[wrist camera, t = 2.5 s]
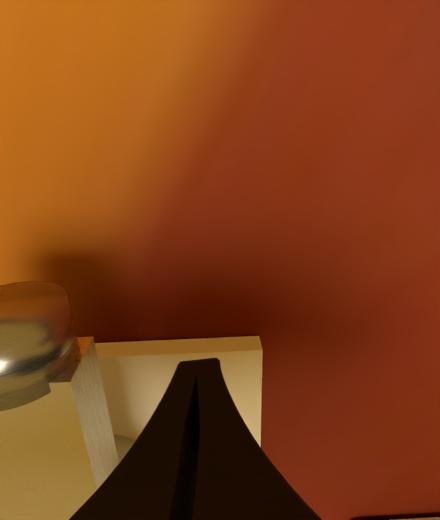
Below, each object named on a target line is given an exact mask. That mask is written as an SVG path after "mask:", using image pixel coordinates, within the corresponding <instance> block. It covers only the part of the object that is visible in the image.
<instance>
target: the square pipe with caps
mask: <svg viewBox="0 0 440 520" xmlns="http://www.w3.org/2000/svg"><path fill="white" fill-rule="evenodd" d="M118 464H119V461H118V456H117V451H116V446H115V441H114V436H113V431H112V426H111V421H110V416H109V411H108V406H107V401H106V397H105V392H104V387H103V382H102V377H101V372H100V367H99V362H98V357H97V352H96V347H95V342H94V337H77V335H76V330H75V326H74V322H73V317H72V313H71V308H70V304H69V299H68V295H67V292H66V290H65V289H64V288H63V287H62V286H60V285H58V284H55V283H51V282H44V281H27V282H17V283H11V284H5V285H1V286H0V520H69V519H70V518H71V517H72V516H73V514H74V513H75V512H76V511H77V510H78V509H79V508H80V507H81V506H82V505H83V504H84V503H85V502H86V501H87V500H88V499H89V498H90V497H91V496H92V495H93V493H94V492H95V491H96V490H97V489H98V488H99V487H100V486H101V484H102V483H103V482H104V481H105V480H106V479H107V477H108V476H109V475H110V474H111V472H112V471H113V470H114V469H115V468H116V466H117V465H118Z"/></svg>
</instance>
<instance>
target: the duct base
mask: <svg viewBox="0 0 440 520" xmlns="http://www.w3.org/2000/svg"><path fill="white" fill-rule="evenodd" d="M95 347H96V352H97V357H98V362H99V367H100V372H101V377H102V382H103V387H104V392H105V397H106V401H107V406H108V411H109V416H110V421H111V426H112V431H113V436H114V441H115V446H116V451H117V456H118V461H119V463H120V461H121V460H122V459H123V458H124V456H125V455H126V453H127V452H128V451H129V449H130V448H131V447H132V445H133V444H134V442H135V441H136V440H137V438H138V437H139V435H140V434H141V432H142V431H143V429H144V427H145V426H146V424H147V423H148V421H149V419H150V418H151V416H152V415H153V413H154V411H155V410H156V408H157V406H158V404H159V402H160V401H161V399H162V397H163V395H164V393H165V391H166V389H167V387H168V385H169V383H170V381H171V379H172V377H173V375H174V372H175V370H176V368H177V365H178V364H179V363H180V362H181V361H189V360H198V359H208V358H218V359H219V360H220V365H221V371H222V374H223V377H224V380H225V383H226V386H227V388H228V390H229V393H230V395H231V397H232V399H233V401H234V403H235V405H236V407H237V409H238V411H239V413H240V415H241V417H242V418H243V420H244V422H245V424H246V425H247V427H248V429H249V430H250V432H251V434H252V435H253V437H254V438H255V440H256V441H257V443H258V444H259V446H260V447H261V401H262V353H263V350H262V345H261V341H260V337H259V336H244V337H222V338H199V339H177V340H154V341H132V342H109V343H95Z"/></svg>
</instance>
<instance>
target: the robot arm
mask: <svg viewBox="0 0 440 520" xmlns="http://www.w3.org/2000/svg"><path fill="white" fill-rule="evenodd" d="M69 520H322V519H321V518H320V517H319V516H318V515H317V514H316V513H315V512H314V511H313V510H312V509H311V508H310V507H309V506H308V505H307V504H306V503H305V502H304V501H303V499H302V498H301V497H300V496H299V495H298V494H297V493H296V492H295V491H294V489H293V488H292V487H291V486H290V485H289V484H288V482H287V481H286V480H285V479H284V477H283V476H282V475H281V474H280V472H279V471H278V470H277V469H276V467H275V466H274V465H273V464H272V463H271V461H270V460H269V458H268V457H267V456H266V454H265V453H264V451H263V450H262V449H261V447H260V446H259V444H258V443H257V441H256V440H255V438H254V437H253V435H252V434H251V432H250V430H249V429H248V427H247V425H246V424H245V422H244V420H243V418H242V417H241V415H240V413H239V411H238V409H237V407H236V405H235V403H234V401H233V399H232V397H231V395H230V393H229V390H228V388H227V386H226V383H225V380H224V377H223V374H222V371H221V365H220V360H219V359H218V358H208V359H198V360H189V361H181V362H180V363H179V364H178V365H177V368H176V370H175V372H174V375H173V377H172V379H171V381H170V383H169V385H168V387H167V389H166V391H165V393H164V395H163V397H162V399H161V401H160V402H159V404H158V406H157V408H156V410H155V411H154V413H153V415H152V416H151V418H150V419H149V421H148V423H147V424H146V426H145V427H144V429H143V431H142V432H141V434H140V435H139V437H138V438H137V440H136V441H135V442H134V444H133V445H132V447H131V448H130V449H129V451H128V452H127V453H126V455H125V456H124V458H123V459H122V460H121V461H120V463H119V464H118V465H117V466H116V468H115V469H114V470H113V471H112V472H111V474H110V475H109V476H108V477H107V479H106V480H105V481H104V482H103V483H102V484H101V486H100V487H99V488H98V489H97V490H96V491H95V492H94V493H93V495H92V496H91V497H90V498H89V499H88V500H87V501H86V502H85V503H84V504H83V505H82V506H81V507H80V508H79V509H78V510H77V511H76V512H75V513H74V514H73V516H72V517H71V518H70V519H69ZM391 520H440V517H428V518H409V519H391Z"/></svg>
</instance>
